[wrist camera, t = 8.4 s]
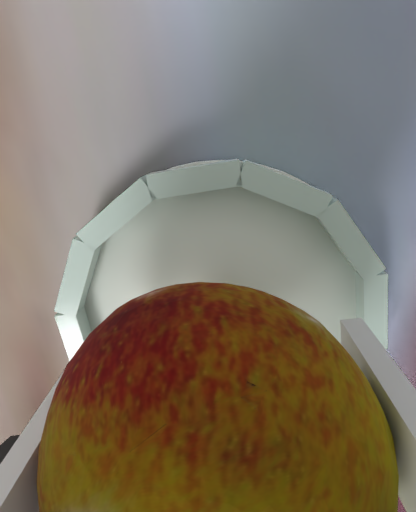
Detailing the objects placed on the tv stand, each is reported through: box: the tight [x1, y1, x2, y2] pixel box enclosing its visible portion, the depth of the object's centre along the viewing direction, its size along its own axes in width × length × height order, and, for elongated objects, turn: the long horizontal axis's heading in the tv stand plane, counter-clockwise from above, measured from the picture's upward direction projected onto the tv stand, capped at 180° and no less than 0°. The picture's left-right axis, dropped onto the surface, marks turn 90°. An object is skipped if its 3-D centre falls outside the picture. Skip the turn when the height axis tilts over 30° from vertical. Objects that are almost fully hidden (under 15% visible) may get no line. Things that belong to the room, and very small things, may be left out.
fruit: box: [37, 282, 399, 512], centre depth 10 cm, size 10×9×8 cm
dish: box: [54, 158, 388, 361], centre depth 17 cm, size 15×15×2 cm
